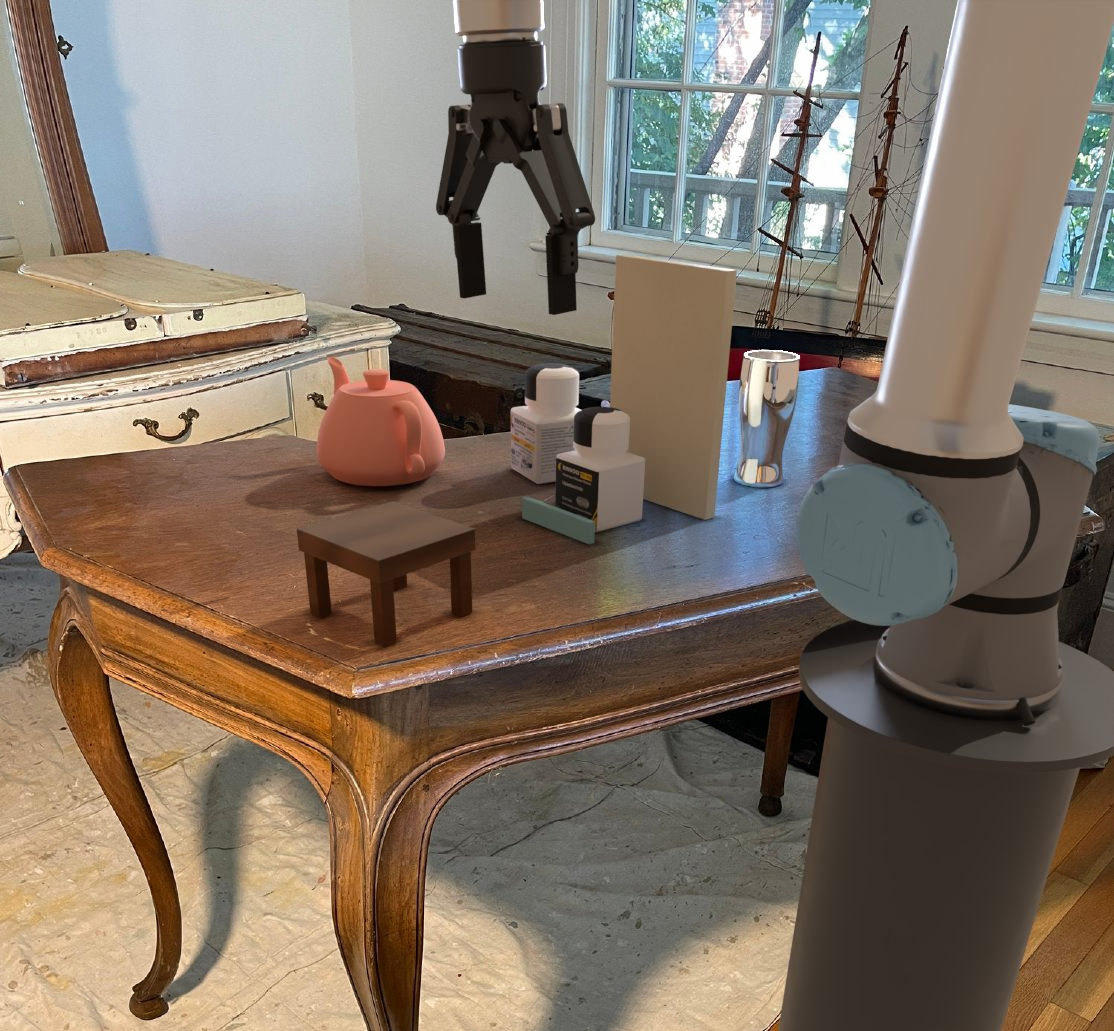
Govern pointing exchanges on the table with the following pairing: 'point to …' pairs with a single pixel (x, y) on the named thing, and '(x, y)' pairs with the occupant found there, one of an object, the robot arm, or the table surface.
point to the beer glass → (765, 415)
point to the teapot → (378, 431)
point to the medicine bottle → (601, 470)
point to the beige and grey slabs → (666, 383)
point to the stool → (386, 557)
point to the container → (544, 421)
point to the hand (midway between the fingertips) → (516, 304)
